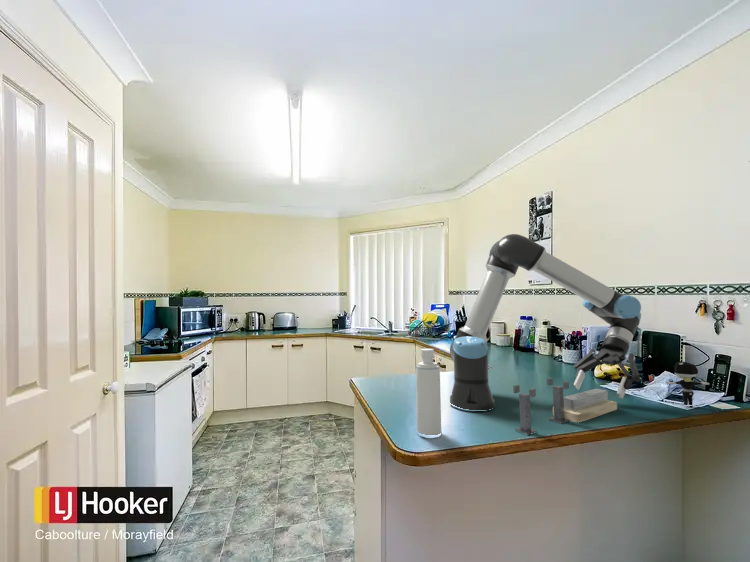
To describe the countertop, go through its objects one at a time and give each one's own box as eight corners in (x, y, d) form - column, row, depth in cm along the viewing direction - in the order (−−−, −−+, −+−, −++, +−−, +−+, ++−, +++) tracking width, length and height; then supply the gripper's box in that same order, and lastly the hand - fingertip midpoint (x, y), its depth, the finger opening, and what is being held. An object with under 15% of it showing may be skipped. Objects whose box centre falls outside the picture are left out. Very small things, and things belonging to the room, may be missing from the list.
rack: (512, 429, 96) (510, 386, 97) (554, 416, 106) (552, 377, 107) (530, 436, 91) (528, 390, 92) (572, 422, 101) (570, 380, 102)
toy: (701, 404, 117) (698, 360, 117) (717, 409, 111) (714, 363, 111) (659, 403, 118) (657, 360, 119) (673, 409, 112) (670, 363, 113)
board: (552, 415, 108) (552, 407, 108) (591, 403, 119) (591, 396, 119) (578, 422, 101) (578, 414, 101) (617, 409, 112) (616, 402, 112)
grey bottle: (423, 427, 98) (421, 341, 100) (445, 432, 95) (443, 343, 96) (412, 435, 93) (411, 344, 94) (435, 441, 89) (433, 345, 91)
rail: (562, 408, 106) (562, 397, 107) (596, 398, 116) (596, 388, 117) (573, 411, 103) (573, 400, 104) (608, 401, 113) (607, 390, 114)
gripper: (663, 353, 112) (645, 407, 103) (585, 345, 133) (565, 390, 125) (655, 338, 109) (635, 392, 101) (577, 333, 131) (555, 377, 123)
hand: (596, 391), depth 113 cm, fingers open, 13 cm apart
